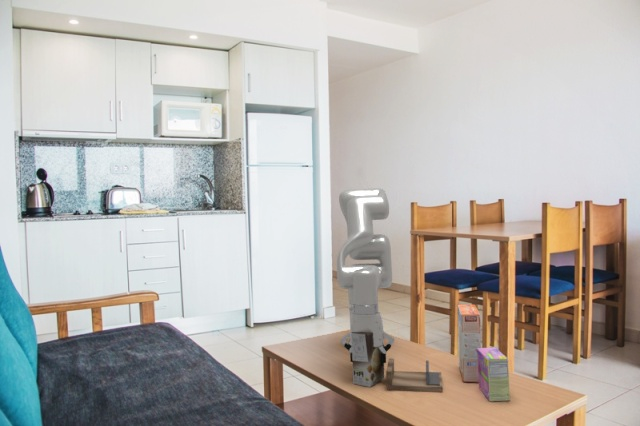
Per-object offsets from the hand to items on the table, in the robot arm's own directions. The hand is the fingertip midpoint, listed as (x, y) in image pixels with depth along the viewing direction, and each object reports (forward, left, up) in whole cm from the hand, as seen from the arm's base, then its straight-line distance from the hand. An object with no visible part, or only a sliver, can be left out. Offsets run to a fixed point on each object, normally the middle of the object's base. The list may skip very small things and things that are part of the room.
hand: (368, 364), depth 157 cm
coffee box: (0, 0, -5) cm, 5 cm away
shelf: (+1, +14, -5) cm, 15 cm away
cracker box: (-8, +31, -5) cm, 32 cm away
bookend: (+1, +19, -4) cm, 20 cm away
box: (+7, +36, -5) cm, 37 cm away
